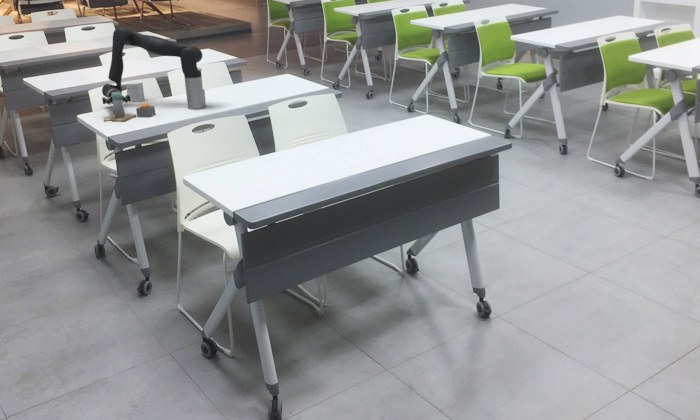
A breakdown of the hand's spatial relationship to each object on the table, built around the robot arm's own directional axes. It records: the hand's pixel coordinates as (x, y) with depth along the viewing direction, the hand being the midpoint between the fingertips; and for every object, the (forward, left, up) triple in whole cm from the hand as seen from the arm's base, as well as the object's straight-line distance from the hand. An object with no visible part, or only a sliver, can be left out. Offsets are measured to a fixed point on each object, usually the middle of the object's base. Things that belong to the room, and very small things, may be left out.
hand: (117, 101), depth 384 cm
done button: (-11, -8, -5) cm, 15 cm away
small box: (+14, -44, -9) cm, 48 cm away
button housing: (-11, -8, -9) cm, 16 cm away
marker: (0, +1, -8) cm, 8 cm away
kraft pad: (-1, +1, -9) cm, 9 cm away
